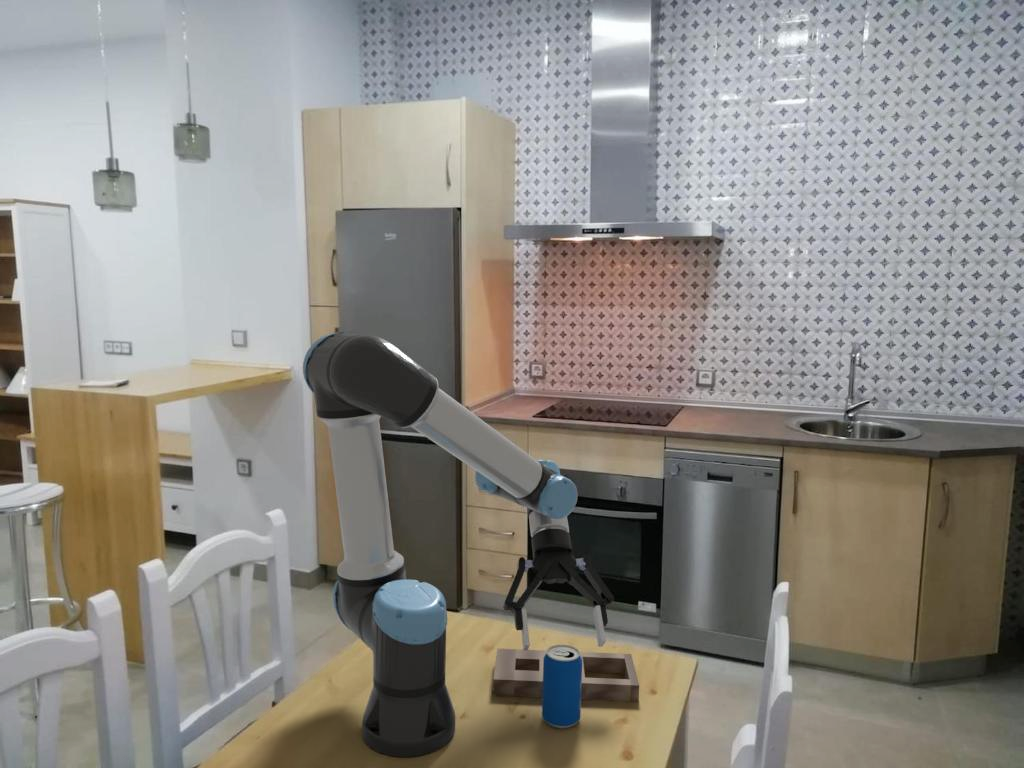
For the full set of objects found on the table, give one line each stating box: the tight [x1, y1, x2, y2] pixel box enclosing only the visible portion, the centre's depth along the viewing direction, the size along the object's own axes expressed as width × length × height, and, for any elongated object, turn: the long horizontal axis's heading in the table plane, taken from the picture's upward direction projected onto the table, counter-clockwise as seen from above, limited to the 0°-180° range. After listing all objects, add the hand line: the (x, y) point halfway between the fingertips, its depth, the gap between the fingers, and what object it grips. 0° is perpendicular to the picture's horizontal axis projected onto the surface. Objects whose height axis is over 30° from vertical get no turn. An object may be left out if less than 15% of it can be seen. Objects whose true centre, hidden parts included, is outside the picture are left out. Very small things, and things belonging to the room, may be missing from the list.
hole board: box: [492, 648, 640, 702], centre depth 139 cm, size 26×12×3 cm, turn 88°
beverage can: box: [541, 644, 582, 729], centre depth 125 cm, size 6×6×12 cm
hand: (564, 646), depth 131 cm, fingers open, 13 cm apart
